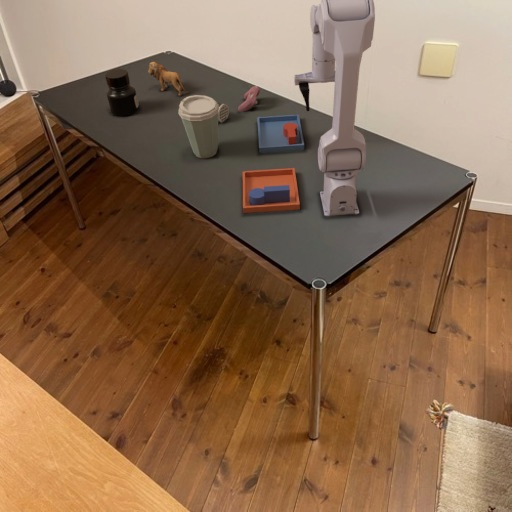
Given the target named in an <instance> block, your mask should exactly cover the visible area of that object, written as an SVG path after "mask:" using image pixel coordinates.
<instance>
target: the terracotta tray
mask: <svg viewBox="0 0 512 512" xmlns="http://www.w3.org/2000/svg"><path fill="white" fill-rule="evenodd" d="M296 176H297V175H296V168H295V167H290V168H273V169H256V170H244V171H242V212H243V214H250V213H267V212H284V211H297V210H301V203H300V202H301V201H300V194H299V190H298V182H297V177H296ZM283 185H289V188H290V202H279V203H265V204H264V205H257V206H253V205H251V204H250V200H249V192H250V191H251V190H252V189H255V188H261V189H264V187H267V186H283Z"/></svg>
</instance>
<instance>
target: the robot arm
mask: <svg viewBox="0 0 512 512" xmlns="http://www.w3.org/2000/svg"><path fill="white" fill-rule="evenodd" d="M375 9H376V8H375V2H374V0H321V1H320V2H319V4H318V5H315V4H312V5H311V7H310V12H309V14H310V15H309V23H310V30H311V32H312V42H311V43H312V48H311V49H312V50H311V71H309V72H305V73H300V74H294V76H293V81H294V82H293V83H294V86H298V87H299V88H298V89H299V91H300V93H301V95H302V97H303V100H304V103H305V109H306V112H310V84H319V83H320V84H324V83H332V82H333V83H334V85H333V86H334V90H333V105H332V121H331V122H332V124H331V126H332V127H331V128H330V129H329V130H327V131H326V132H325V133H324V134H323V135H321V136H320V138H319V142H318V143H319V144H318V148H317V162H318V169H319V171H320V172H321V173H322V174H323V173H324V174H323V175H324V176H323V190H322V191H320V192H319V194H320V199H321V206H322V210H323V215H324V216H325V217H328V216H345V215H358V214H360V209H359V206H358V202H357V196H358V195H357V193H358V192H357V188H356V185H357V176H358V175H359V174H360V171H361V170H363V169H364V168H365V166H366V163H367V150H366V148H367V143H366V139H365V137H364V135H363V133H361V132H360V131H358V130H357V129H356V128H355V122H356V112H357V111H356V110H357V103H358V102H357V101H358V91H359V81H360V80H359V77H360V69H361V63H362V60H363V59H362V58H363V53H364V52H366V51H368V50H369V49H370V48H371V47H372V43H373V42H372V41H373V39H374V32H375V31H374V30H375V22H376V13H375V12H376V11H375Z"/></svg>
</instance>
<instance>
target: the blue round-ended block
mask: <svg viewBox="0 0 512 512" xmlns="http://www.w3.org/2000/svg"><path fill="white" fill-rule="evenodd" d="M249 200H250V204H251V205H253V206H257V205H264V204H265V203H279V202H290V188H289V185H283V186H267V187H264V189H261V188H255V189H252V190H251V191H250V192H249Z"/></svg>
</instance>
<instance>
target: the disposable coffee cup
mask: <svg viewBox="0 0 512 512" xmlns="http://www.w3.org/2000/svg"><path fill="white" fill-rule="evenodd" d="M187 96H188V97H186V96H185V97H186V98H185V99H183V100H182V101H181V102H180V101H179V104H180V105H179V104H178V107H179V108H178V110H177V113H178V115H179V117H180V118H181V119H180V120H181V122H182V125H183V127H184V129H185V133H186V136H187V138H188V141H189V144H190V147H191V149H192V152H193V154H194V155H195V157H196V158H199V159H209V158H212V157H214V156H215V155H216V154H217V152H218V149H219V122H218V113H219V105H218V103H219V102H218V103H217V101H216V100H215V99H214V98H213V97H211V96H209V95H200V94H193V95H187Z"/></svg>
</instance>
